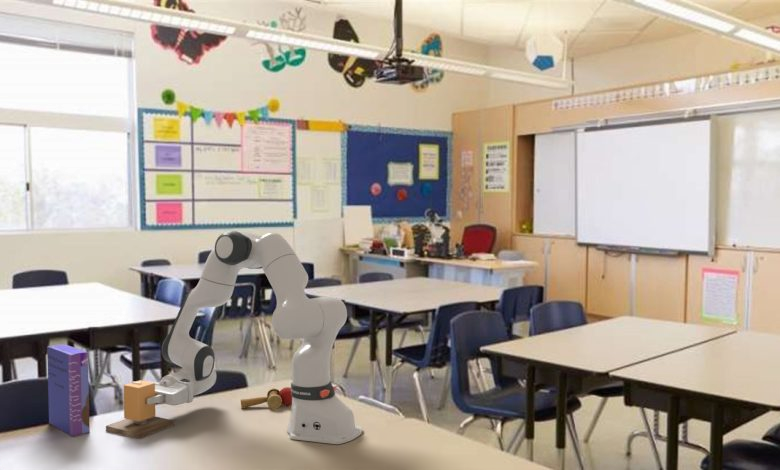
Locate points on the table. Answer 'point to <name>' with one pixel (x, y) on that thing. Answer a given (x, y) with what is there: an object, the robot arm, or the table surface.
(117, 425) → the shaft base
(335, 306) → the robot arm
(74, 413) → the cereal box
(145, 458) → the table surface
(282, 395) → the kendama
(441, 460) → the table surface
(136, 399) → the orange block
